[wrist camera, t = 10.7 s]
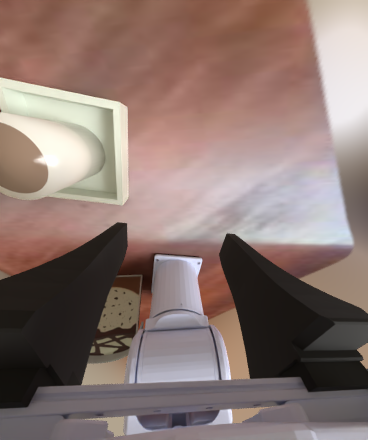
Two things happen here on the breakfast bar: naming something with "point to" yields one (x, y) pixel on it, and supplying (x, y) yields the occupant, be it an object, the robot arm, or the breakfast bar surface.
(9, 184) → the cup
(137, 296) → the food container
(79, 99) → the tray
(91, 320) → the robot arm
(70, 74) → the breakfast bar surface
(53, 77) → the breakfast bar surface
